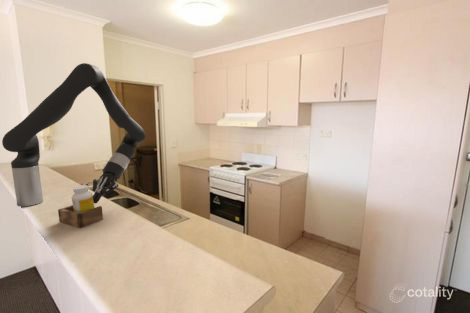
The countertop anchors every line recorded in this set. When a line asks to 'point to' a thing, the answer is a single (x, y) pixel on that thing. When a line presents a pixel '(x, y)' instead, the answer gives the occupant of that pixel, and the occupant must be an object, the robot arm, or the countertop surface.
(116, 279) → the countertop surface
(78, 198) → the supplement bottle
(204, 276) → the countertop surface
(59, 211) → the walnut bay
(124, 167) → the robot arm
